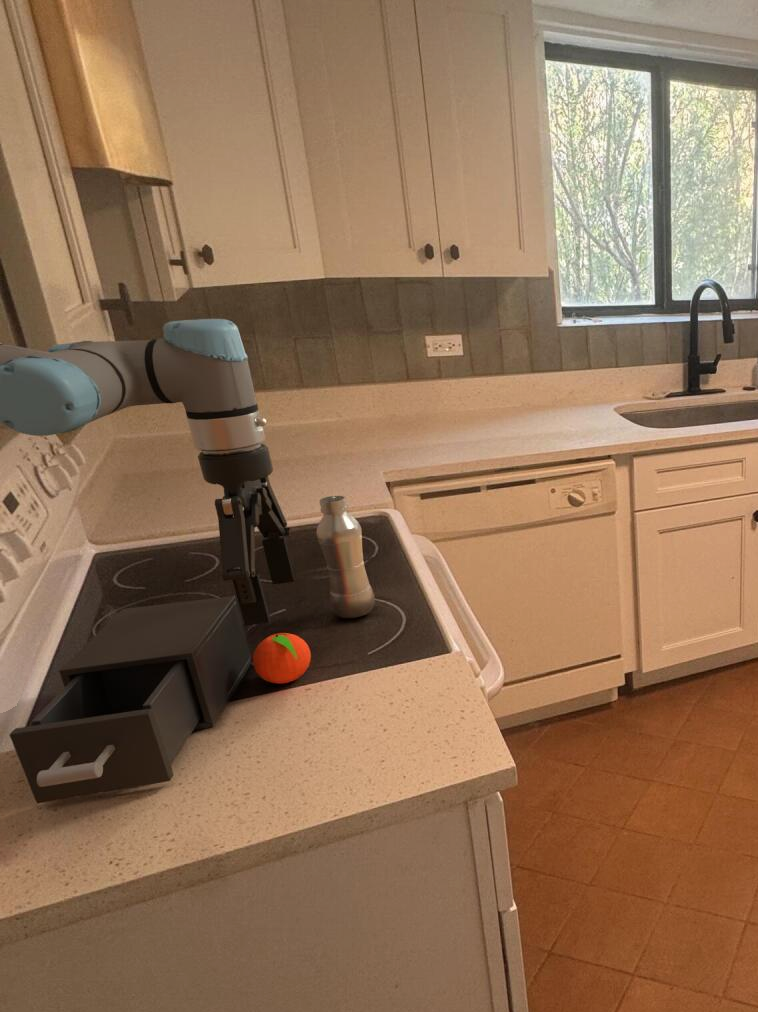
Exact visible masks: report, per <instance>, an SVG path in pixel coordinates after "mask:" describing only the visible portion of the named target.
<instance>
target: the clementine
mask: <svg viewBox="0 0 758 1012" xmlns="http://www.w3.org/2000/svg"><path fill="white" fill-rule="evenodd" d="M311 653H312V652H311V649H310V647H309V645H308V644H307V642H306V641H305V640H304V639H303V638H301V637H300V636H298V635H296V634H293V633H289V632H288V633H287V632H278V633H274V634H271V635H269V636H267V637H266V638H264V639H263V640H262V641H261V642H260V643H259V644H258V645H257V646H256V648H255V650H254V652H253V656H252V664H253V668H254V671H255V672H256V674H257V675H258V676H259V677H260V678H261V679H263V680H264V681H265V682H268V683H272V684H279V685H280V684H281V685H282V684H287V683H290V682H294V681H296V680H297V679H299V678H300V677H301V676H302V675H304V674H305V673H306V671H307V670H308V668H309V667H310V664H311V660H312V655H311Z"/></svg>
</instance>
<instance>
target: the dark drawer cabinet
mask: <svg viewBox="0 0 758 1012" xmlns="http://www.w3.org/2000/svg"><path fill="white" fill-rule="evenodd" d="M236 598H237V597H236V595H232V596H231V595H230V596H224V597H223V596H222V597H212V598H205V599H197V600H196V599H195V600H188V601H179V602H170V603H161V604H154V605H146V606H136V607H128V608H122V609H120V611H119V612H117V614H115V616H114V617H113V618H112V619H111V620H110V621H108V623H107V624H105V625H104V627H102V628H101V630H99V631H98V632H97V633H96V634H95V635H94V636H93V637H92V638H91V639H90V640H89V641H88V642H87V643H86V644H85V645H84V646H83V647H82V648H81V649H79V651H78V652H76V653H75V654H74V656H72V657H71V658H70V659H69V660H68V661H67V662H66V663H65V664H64V665H63V666H61V668H60V669H59V670H58V673H59V676H60V678H61V681H62V683H63V686H64V687H63V688H65V687H66V686H67V685H68V684H69V683H70V682H71V681H72V680H73V679H74V678H75V677H76V676H77V675H78V674H81V673H89V672H96V671H104V670H111V669H119V668H126V667H134V666H141V665H149V664H156V663H163V662H171V661H178V660H186V659H187V663H188V666H189V670H190V673H191V676H192V680H193V683H194V687H195V690H196V693H197V697H198V700H199V704H200V707H201V710H202V714H203V715H202V717H201V719H200V720H199V722H198V723H197V725H196V727H195V728H194V730H193V731H197V730H204V729H210V728H214V727H215V725H216V724H217V722H218V720H219V719H220V716H221V715H222V713H223V712H224V710H225V708H226V707H227V705H228V703H229V701H230V700H231V698H232V696H233V694H234V693H235V691H236V689H238V686H239V685H240V683H241V681H242V680H243V678H244V676H245V675H246V674H247V671H248V669H249V668H250V666H251V664H252V663H253V658H252V656H251V651H250V647H249V644H248V640H247V636H246V633H245V629H244V625H243V621H242V617H241V612H240V608H239V606H238V603H237V599H236Z"/></svg>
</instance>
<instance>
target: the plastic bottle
mask: <svg viewBox="0 0 758 1012" xmlns="http://www.w3.org/2000/svg"><path fill="white" fill-rule="evenodd" d="M319 506H320V513H321V514H323V515H322V517H321V519H320V521H319V523H318V525H317V527H316V532H315V534H316V537H317V540H318V544H319V546H320V548H321V551H322V554H323V557H324V560H325V564H326V565H327V566H326V567H327V571H328V578H329V587H330V588H329V589H330V594H329V600H330V606H331V608H332V611H333V613H334V614H335V615H336V616H337V617H339V618H342V619H355V618H358V617H363V616H366V615H368V614H369V613H371V612H372V611H373V610H374V607H375V604H376V603H375V599H376V597H375V596H376V595H375V594H374V590H373V588H372V586H371V584H370V581H369V577H368V574H367V571H366V567H365V561H364V552H363V535H362V534H363V533H362V532H363V531H362V526H361V525H360V522H359V521H358V520H357V519H356V518H355V517H353V516H352V515H351V514H350V513H349V512H348V511H347V510H349V507H348V504H347V501H346V498H345V496H344V495H330V496H325V497H322V498H320V499H319Z"/></svg>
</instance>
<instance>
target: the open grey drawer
mask: <svg viewBox="0 0 758 1012" xmlns="http://www.w3.org/2000/svg"><path fill="white" fill-rule="evenodd" d="M202 715H203V714H202V710H201V707H200V704H199V700H198V697H197V693H196V690H195V687H194V683H193V680H192V676H191V673H190V670H189V666H188V663H187V659H186V660H178V661H171V662H163V663H156V664H149V665H141V666H134V667H126V668H119V669H111V670H104V671H96V672H89V673H81V674H78V675H77V676H76V677H75V678H74V679H73V680H72V681H71V682H70V683H69V684H68V685H67V686H66V687H63V688H62V689H61V691H60V692H59V693H58V694H56V696H55V697H54V698H53V699H52V700H51V701H50V702H49V703H48V704H47V705H46V706H45V707H44V708H43V709H42V710H41V711H40V712H39V713H38V714H37V715H36V716H35V717H34V718H33V719H32V720H31V721H30V723H31V725H29V726H22V727H16V728H14V729H13V730H12V731H11V732H10V733H9V738H10V740H11V742H12V745H13V747H14V750H15V753H16V755H17V757H18V760H19V763H20V766H21V767H22V770H23V772H24V775H25V777H26V780H27V782H28V786H29V788H30V791H31V792H32V795H33V797H34V800H35V802H36V803H35V804H43V803H48V802H49V803H50V802H56V801H61V800H66V799H73V798H78V797H83V796H84V797H85V796H91V795H97V794H102V793H107V792H113V791H120V790H124V789H125V790H126V789H132V788H137V787H143V786H149V785H154V784H155V785H156V784H161V783H166V782H170V781H171V780H172V779H173V777H174V772H173V768H172V765H173V763H174V761H175V760H176V759H177V757H178V755H179V754H180V752H181V751H182V748H183V747H184V745H186V743H187V741H188V739H189V738H190V736H191V735H192V733H193V731H195V730H194V728H195V727H196V725H197V723H198V722H199V720H200V719H201V717H202Z"/></svg>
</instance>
